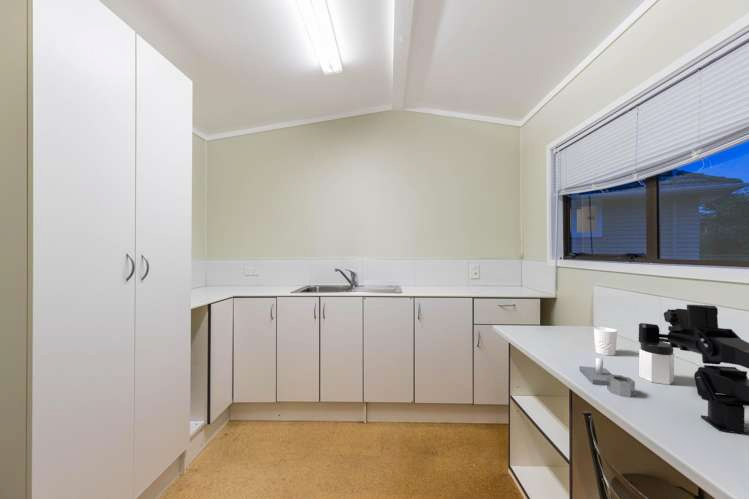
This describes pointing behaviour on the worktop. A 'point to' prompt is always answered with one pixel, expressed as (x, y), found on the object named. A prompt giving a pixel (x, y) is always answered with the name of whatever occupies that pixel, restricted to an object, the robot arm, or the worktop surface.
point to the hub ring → (621, 385)
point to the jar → (657, 363)
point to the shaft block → (596, 373)
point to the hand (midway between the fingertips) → (658, 332)
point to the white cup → (605, 340)
